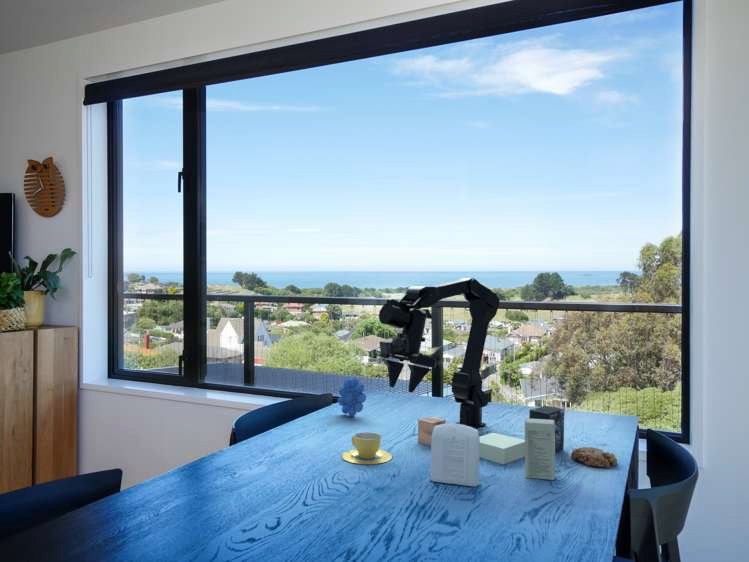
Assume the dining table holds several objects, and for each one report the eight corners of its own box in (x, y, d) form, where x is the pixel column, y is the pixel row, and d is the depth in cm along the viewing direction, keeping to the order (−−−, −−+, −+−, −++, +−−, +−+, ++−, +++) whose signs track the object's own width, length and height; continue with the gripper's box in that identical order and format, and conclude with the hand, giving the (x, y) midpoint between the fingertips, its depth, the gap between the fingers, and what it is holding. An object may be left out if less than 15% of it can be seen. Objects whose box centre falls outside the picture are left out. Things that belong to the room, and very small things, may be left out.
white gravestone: (480, 481, 128) (481, 423, 128) (477, 488, 124) (478, 428, 123) (432, 476, 131) (433, 419, 131) (428, 482, 127) (429, 424, 127)
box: (548, 456, 146) (549, 413, 146) (527, 451, 150) (528, 409, 150) (564, 450, 151) (565, 408, 151) (544, 445, 155) (545, 404, 155)
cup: (402, 458, 144) (402, 435, 144) (368, 469, 136) (368, 445, 135) (366, 447, 152) (366, 426, 152) (331, 458, 144) (331, 435, 144)
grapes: (375, 417, 183) (375, 378, 183) (359, 421, 179) (359, 380, 178) (349, 410, 192) (349, 373, 191) (333, 414, 187) (333, 375, 187)
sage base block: (493, 448, 154) (493, 432, 154) (527, 457, 147) (527, 440, 146) (469, 456, 147) (469, 439, 147) (503, 465, 140) (503, 448, 140)
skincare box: (555, 474, 133) (556, 419, 133) (554, 481, 129) (555, 424, 128) (525, 471, 135) (526, 417, 135) (523, 477, 131) (524, 421, 131)
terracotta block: (430, 438, 161) (430, 416, 160) (445, 442, 157) (445, 420, 157) (418, 442, 157) (418, 419, 157) (432, 446, 153) (432, 423, 153)
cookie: (577, 453, 150) (577, 441, 150) (622, 461, 144) (622, 449, 144) (564, 463, 142) (564, 450, 142) (611, 472, 136) (611, 459, 135)
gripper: (370, 323, 165) (357, 379, 163) (407, 327, 149) (394, 390, 147) (403, 332, 171) (391, 386, 169) (442, 336, 155) (430, 397, 153)
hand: (400, 389), depth 159 cm, fingers open, 9 cm apart
